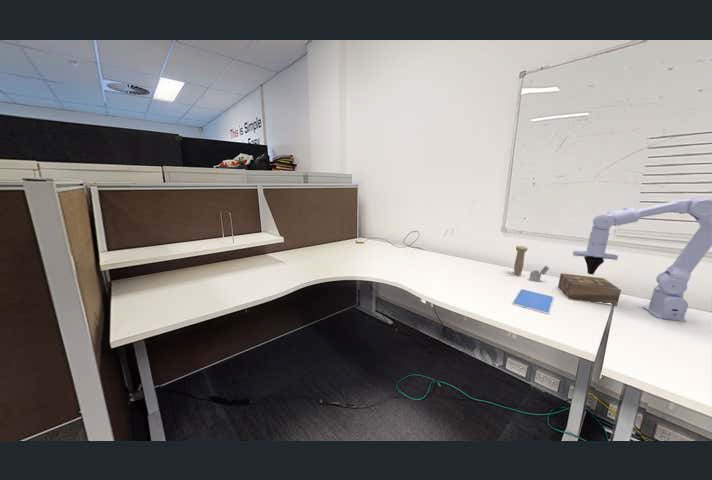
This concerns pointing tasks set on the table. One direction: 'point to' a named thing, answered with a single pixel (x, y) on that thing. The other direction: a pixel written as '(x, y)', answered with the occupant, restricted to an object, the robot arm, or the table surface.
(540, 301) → the tablet computer
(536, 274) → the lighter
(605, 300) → the socket block
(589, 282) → the peg
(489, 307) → the table surface
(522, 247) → the handle
